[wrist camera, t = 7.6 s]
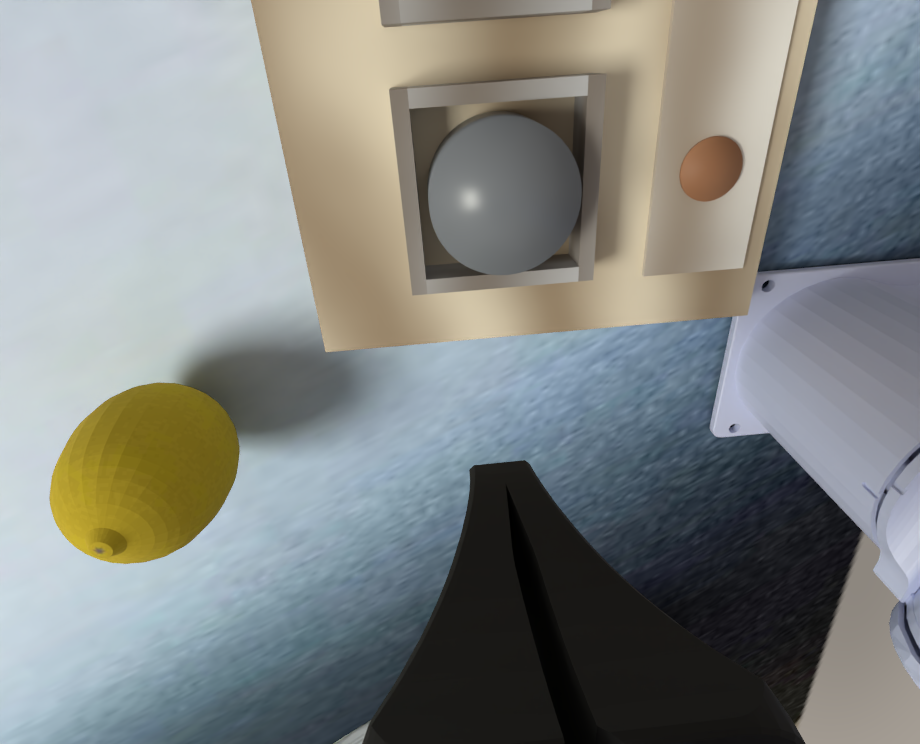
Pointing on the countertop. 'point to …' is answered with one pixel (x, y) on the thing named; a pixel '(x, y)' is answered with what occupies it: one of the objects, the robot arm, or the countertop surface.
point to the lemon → (144, 473)
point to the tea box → (354, 736)
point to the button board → (566, 114)
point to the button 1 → (503, 193)
